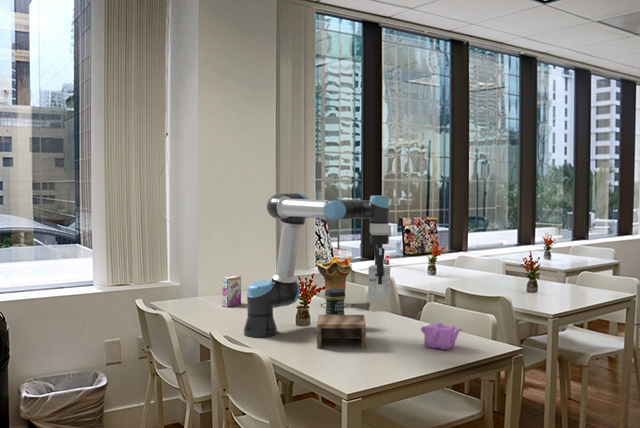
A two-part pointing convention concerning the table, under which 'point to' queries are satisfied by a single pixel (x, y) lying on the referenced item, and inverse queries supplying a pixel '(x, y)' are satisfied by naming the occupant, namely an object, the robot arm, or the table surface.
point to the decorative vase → (335, 274)
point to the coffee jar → (335, 301)
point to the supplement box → (372, 283)
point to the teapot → (440, 335)
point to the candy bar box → (231, 291)
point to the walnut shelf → (341, 327)
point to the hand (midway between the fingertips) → (378, 290)
